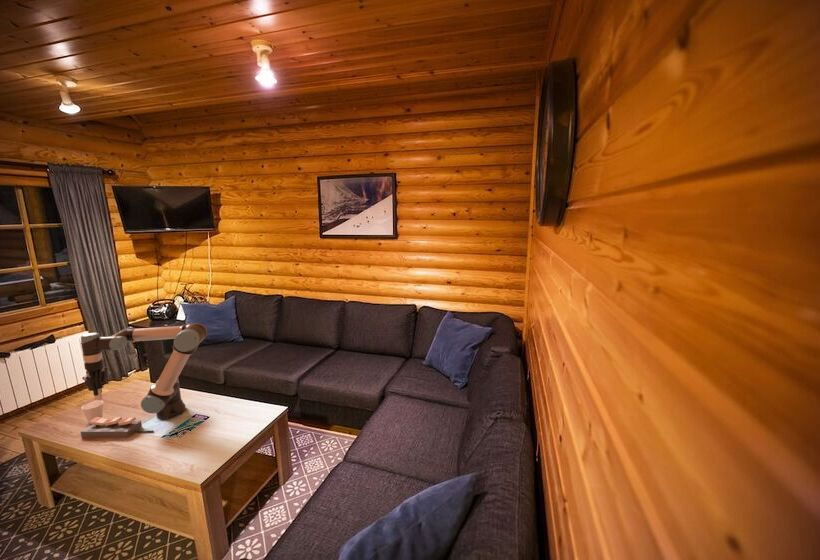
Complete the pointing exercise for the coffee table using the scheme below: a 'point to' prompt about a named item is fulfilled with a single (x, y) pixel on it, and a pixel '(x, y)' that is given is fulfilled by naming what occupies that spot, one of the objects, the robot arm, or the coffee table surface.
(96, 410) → the cup
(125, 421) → the rocker
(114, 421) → the rocker
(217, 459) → the coffee table surface
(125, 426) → the power strip
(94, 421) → the rocker
